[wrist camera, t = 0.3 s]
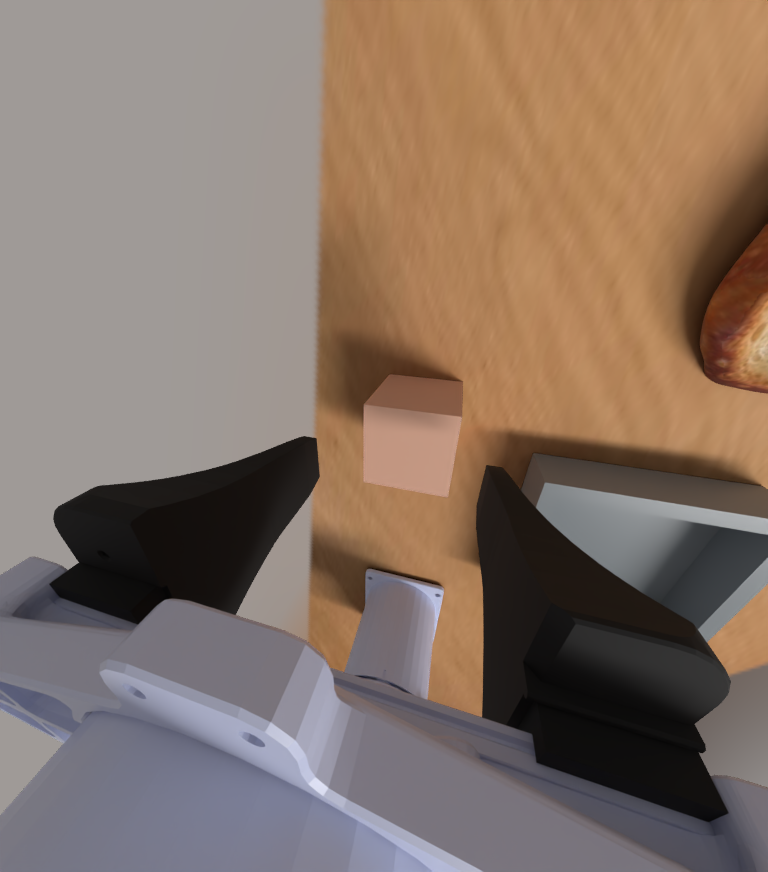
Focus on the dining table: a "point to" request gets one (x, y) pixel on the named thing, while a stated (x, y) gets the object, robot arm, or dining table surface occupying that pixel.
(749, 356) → the bread slice
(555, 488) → the bin
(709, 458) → the dining table surface
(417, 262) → the dining table surface
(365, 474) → the block
